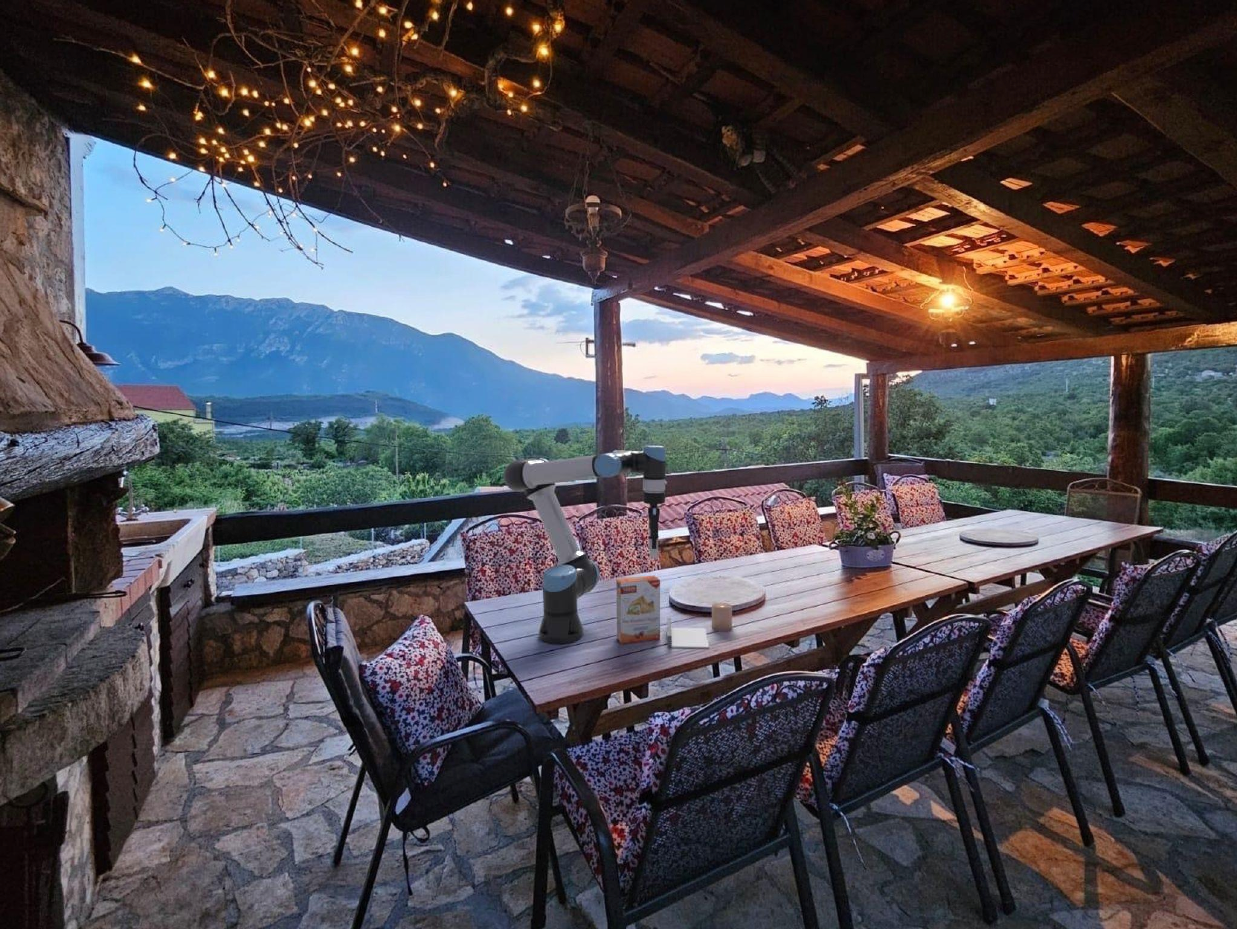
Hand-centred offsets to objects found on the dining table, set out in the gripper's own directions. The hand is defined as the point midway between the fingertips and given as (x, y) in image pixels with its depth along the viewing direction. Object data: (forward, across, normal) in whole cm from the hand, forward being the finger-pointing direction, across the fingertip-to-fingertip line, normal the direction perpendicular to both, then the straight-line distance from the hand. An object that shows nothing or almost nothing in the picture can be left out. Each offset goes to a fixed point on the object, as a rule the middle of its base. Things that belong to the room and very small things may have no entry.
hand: (653, 552), depth 189 cm
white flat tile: (+28, -4, -12) cm, 31 cm away
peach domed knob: (+28, +5, -25) cm, 38 cm away
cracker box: (+29, -4, +4) cm, 30 cm away
